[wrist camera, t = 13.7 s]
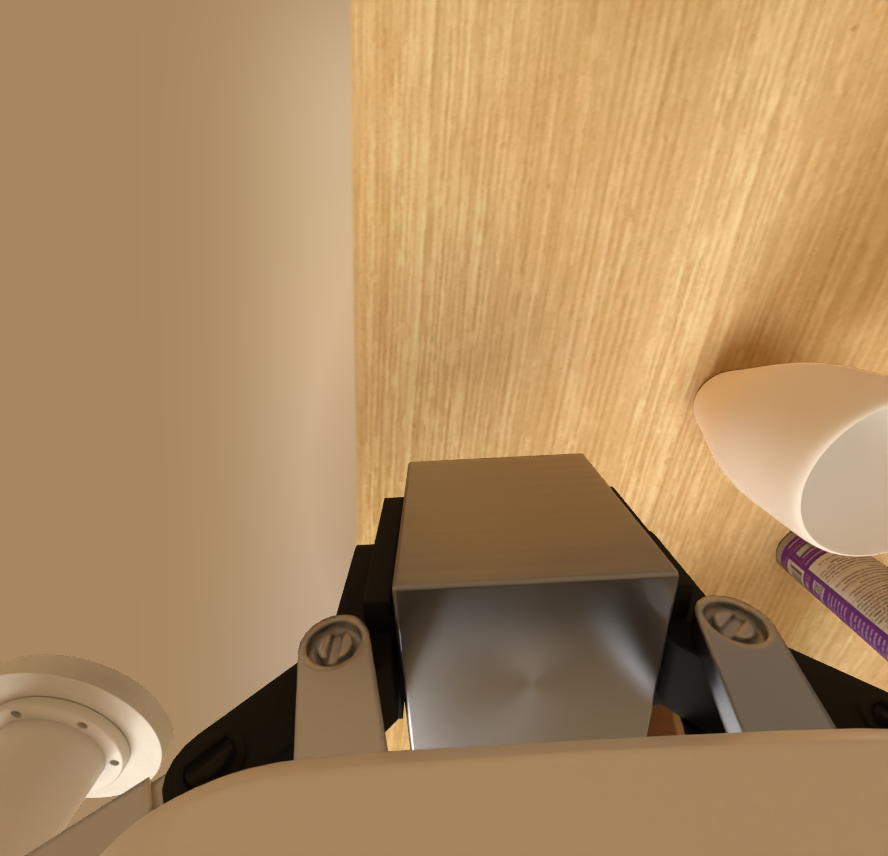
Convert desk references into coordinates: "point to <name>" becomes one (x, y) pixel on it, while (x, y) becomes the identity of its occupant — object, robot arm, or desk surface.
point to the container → (842, 586)
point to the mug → (805, 448)
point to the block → (526, 604)
